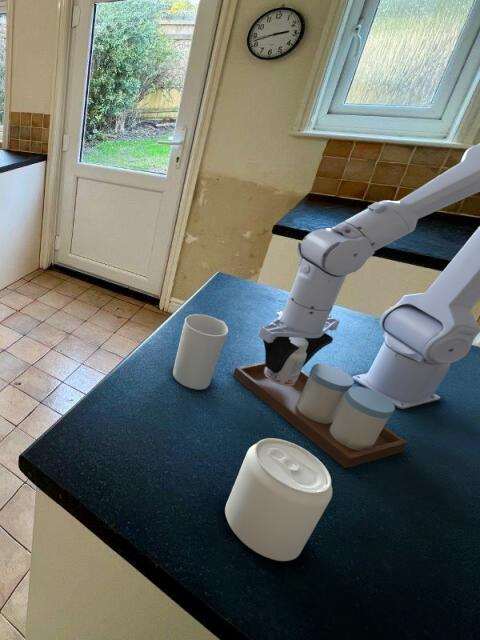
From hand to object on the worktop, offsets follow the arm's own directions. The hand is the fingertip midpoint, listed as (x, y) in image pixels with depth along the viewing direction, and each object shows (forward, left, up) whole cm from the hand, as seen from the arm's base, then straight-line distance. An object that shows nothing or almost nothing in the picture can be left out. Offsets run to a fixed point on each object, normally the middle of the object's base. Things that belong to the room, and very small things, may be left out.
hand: (283, 366), depth 74 cm
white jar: (0, +7, -4) cm, 8 cm away
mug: (+12, -6, -4) cm, 14 cm away
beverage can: (+25, +20, -4) cm, 32 cm away
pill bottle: (0, 0, -3) cm, 3 cm away
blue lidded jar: (0, +13, -4) cm, 13 cm away
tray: (0, +6, -4) cm, 7 cm away
